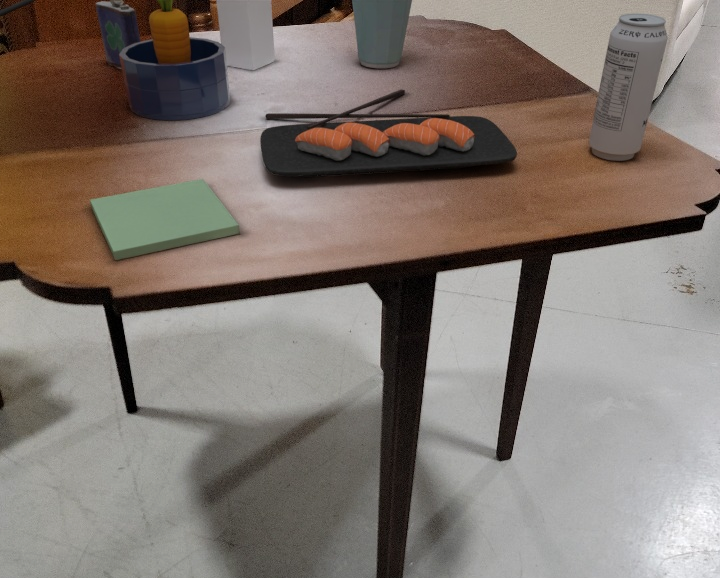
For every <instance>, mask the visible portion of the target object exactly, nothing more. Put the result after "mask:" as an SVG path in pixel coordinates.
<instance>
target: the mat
mask: <svg viewBox="0 0 720 578" xmlns="http://www.w3.org/2000/svg"><path fill="white" fill-rule="evenodd" d="M89 203H90V208H91V209H92V212H93V214H94V217H95V218H96V221H97V224H98V225H99V227H100V230H101V232H102V234H103V236H104V239H105V241H106V243H107V245H108V247H109V250H110V252H111V254H112V256H113V259H114V261H119V260H124V259H128V258H133V257H137V256H142V255H147V254H152V253H156V252H161V251H167V250H170V249H176V248H179V247H184V246H189V245H195V244H197V243H203V242H207V241H213V240H217V239H220V238H225V237H229V236H230V237H231V236H235V235H239V234H240V224H239V223H238V222H237V221H236V219H235V218H234V217H233V216H232V215H231V213H230V211H229V210H228V209H227V208H226V207H225V205H224V204H223V202H222V201H221V200H220V199H219V197H218V196H217V195H216V194H215V192H214V191H213V190H212V188H211V187H210V186H209V184H208V183H207V182H206V181H205V179H204V178H198V179H194V180H188V181H183V182H182V181H181V182H177V183H172V184H168V185H161V186H157V187H150V188H146V189H140V190H139V189H138V190H135V191H129V192H124V193H118V194H113V195H108V196H102V197H97V198H91V199H89Z"/></svg>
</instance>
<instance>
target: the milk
mask: <svg viewBox="0 0 720 578" xmlns="http://www.w3.org/2000/svg"><path fill="white" fill-rule="evenodd" d="M215 3H216V9H217V10H216V11H217V20H218V29H219V39H220V43H221V44H222V45H223V46H224V47H225V51H226V61H227V67H232V68H238V69H243V70H249V71H256V70H258V69H260V68H262V67H265V66H267V65H270V64H273V63H274V62H275V61H276V58H275V57H276V56H275V40H274V25H273V23H274V22H273V10H272V9H273V8H272V0H215Z"/></svg>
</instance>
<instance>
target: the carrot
mask: <svg viewBox="0 0 720 578" xmlns="http://www.w3.org/2000/svg"><path fill="white" fill-rule="evenodd" d="M156 2H157V3H158V4H159V6H160V8H159V9H156V10H154V11H153V12H151V13H150V15H149V16H148V23H149V29H150V34H151V39H153V44H154V49H155V53H156V56H157V59H158V62H159V64H174V63H184V62H190V61H191V49H190V37H191V36H190V28H189V20H188V17H187V15H186V14H185V13H184V12H183V11H182V10H180V9H179V8H173V3H174V0H156Z"/></svg>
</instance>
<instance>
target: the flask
mask: <svg viewBox="0 0 720 578" xmlns="http://www.w3.org/2000/svg"><path fill="white" fill-rule="evenodd" d="M94 5H95V9H96V13H97V19H98V23H99V27H100V28H99V29H100V34H101V38H102V44H103V49H104V55H105V60H106V63H107V64H108V65H109V66H113V67H116V69H119V70H122V67H121V62H120V57H119V54H120V52H121V51H122V49H123V48H125V47H128V46H130V45H132V44H134V43H138V42H142V40H141V37H140V31H139V30H140V29H139V26H138V20H137V14H136V13H137V12H136V9H134V8H133V7H131V6H129V4H126V3H125V2H124V1H123V0H109V1H105V0H101V1H98V2H95V4H94Z"/></svg>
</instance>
